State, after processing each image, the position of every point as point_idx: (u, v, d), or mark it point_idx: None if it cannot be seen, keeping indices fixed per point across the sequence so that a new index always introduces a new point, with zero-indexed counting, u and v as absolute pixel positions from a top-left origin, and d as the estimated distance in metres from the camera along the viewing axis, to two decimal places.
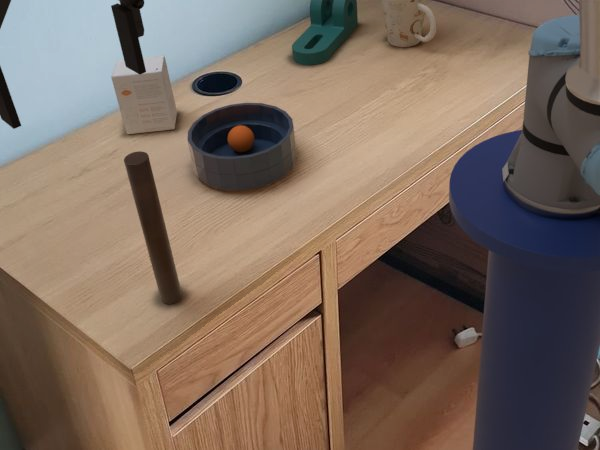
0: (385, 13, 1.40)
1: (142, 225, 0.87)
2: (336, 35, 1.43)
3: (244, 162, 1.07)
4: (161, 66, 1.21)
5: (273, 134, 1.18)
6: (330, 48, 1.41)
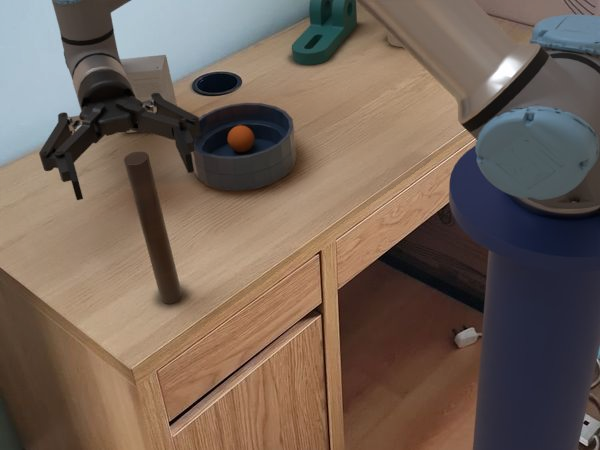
0: None
1: (142, 225, 0.87)
2: (336, 35, 1.44)
3: (244, 162, 1.07)
4: (162, 65, 1.21)
5: (273, 134, 1.18)
6: (330, 48, 1.41)
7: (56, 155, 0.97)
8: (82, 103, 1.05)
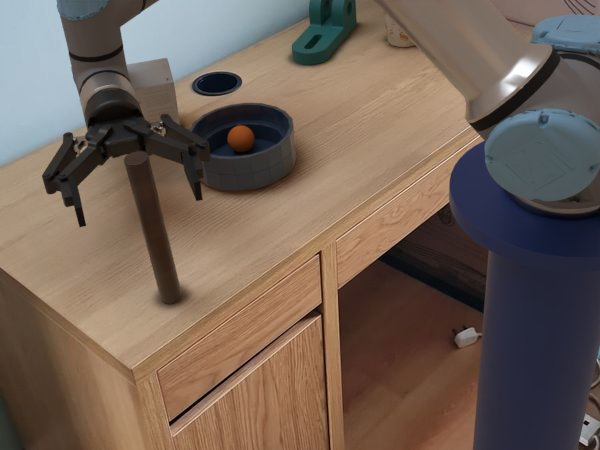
0: (385, 13, 1.40)
1: (142, 225, 0.87)
2: (336, 35, 1.44)
3: (244, 162, 1.07)
4: (170, 74, 1.19)
5: (273, 134, 1.18)
6: (330, 48, 1.42)
7: (59, 178, 0.93)
8: (88, 123, 1.02)
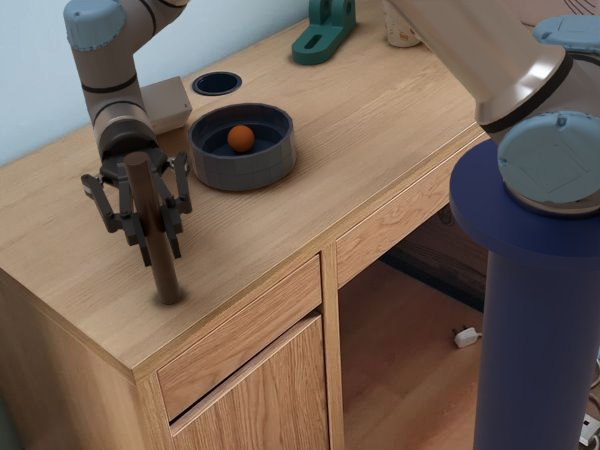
0: (385, 13, 1.40)
1: (141, 225, 0.87)
2: (335, 35, 1.44)
3: (244, 162, 1.07)
4: (187, 99, 1.17)
5: (273, 134, 1.18)
6: (330, 48, 1.42)
7: (124, 216, 0.88)
8: (102, 156, 0.97)
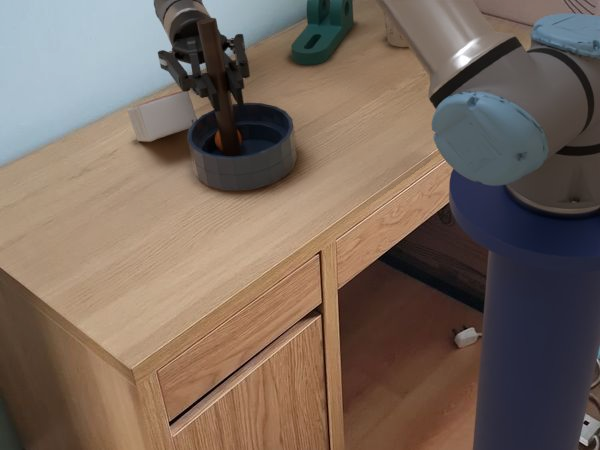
0: None
1: None
2: (334, 34, 1.44)
3: (244, 162, 1.07)
4: (194, 114, 1.17)
5: (273, 134, 1.18)
6: (330, 47, 1.42)
7: (196, 76, 1.09)
8: (174, 38, 1.19)
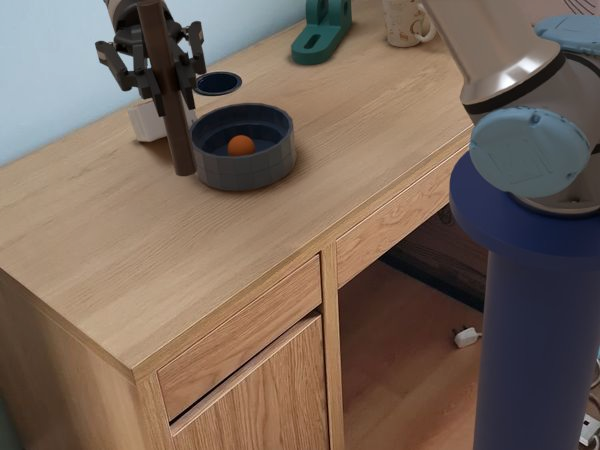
0: (385, 13, 1.40)
1: (156, 80, 0.87)
2: (334, 34, 1.44)
3: (244, 162, 1.07)
4: (194, 114, 1.17)
5: (273, 134, 1.18)
6: (330, 47, 1.42)
7: (138, 72, 0.87)
8: (117, 27, 0.97)
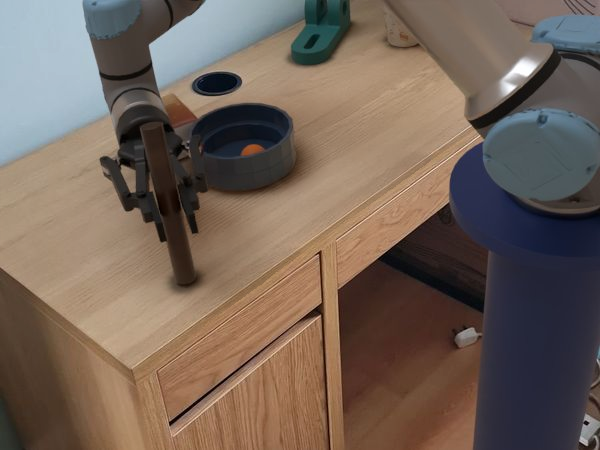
0: (385, 13, 1.40)
1: (158, 196, 0.91)
2: (333, 34, 1.44)
3: (244, 162, 1.07)
4: None
5: (273, 134, 1.18)
6: (329, 47, 1.42)
7: (140, 195, 0.92)
8: (120, 140, 1.02)
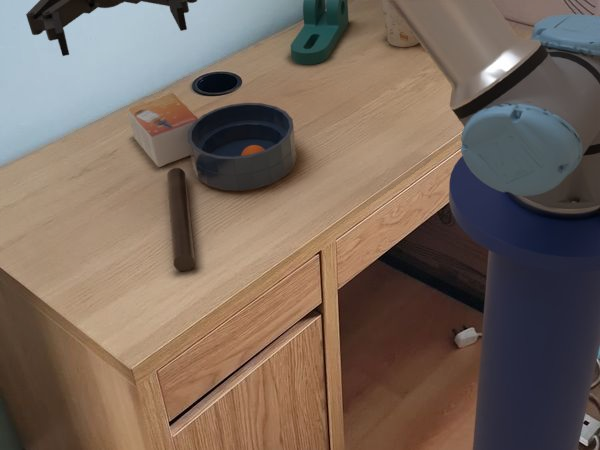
0: (385, 13, 1.40)
1: (171, 204, 1.06)
2: (332, 34, 1.44)
3: (244, 162, 1.07)
4: None
5: (273, 134, 1.18)
6: (329, 47, 1.42)
7: (43, 15, 0.92)
8: None
